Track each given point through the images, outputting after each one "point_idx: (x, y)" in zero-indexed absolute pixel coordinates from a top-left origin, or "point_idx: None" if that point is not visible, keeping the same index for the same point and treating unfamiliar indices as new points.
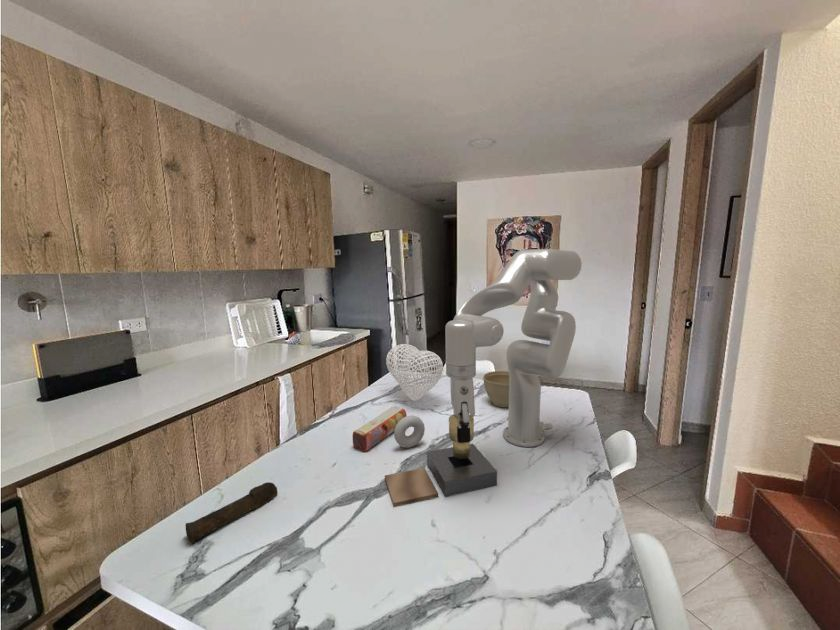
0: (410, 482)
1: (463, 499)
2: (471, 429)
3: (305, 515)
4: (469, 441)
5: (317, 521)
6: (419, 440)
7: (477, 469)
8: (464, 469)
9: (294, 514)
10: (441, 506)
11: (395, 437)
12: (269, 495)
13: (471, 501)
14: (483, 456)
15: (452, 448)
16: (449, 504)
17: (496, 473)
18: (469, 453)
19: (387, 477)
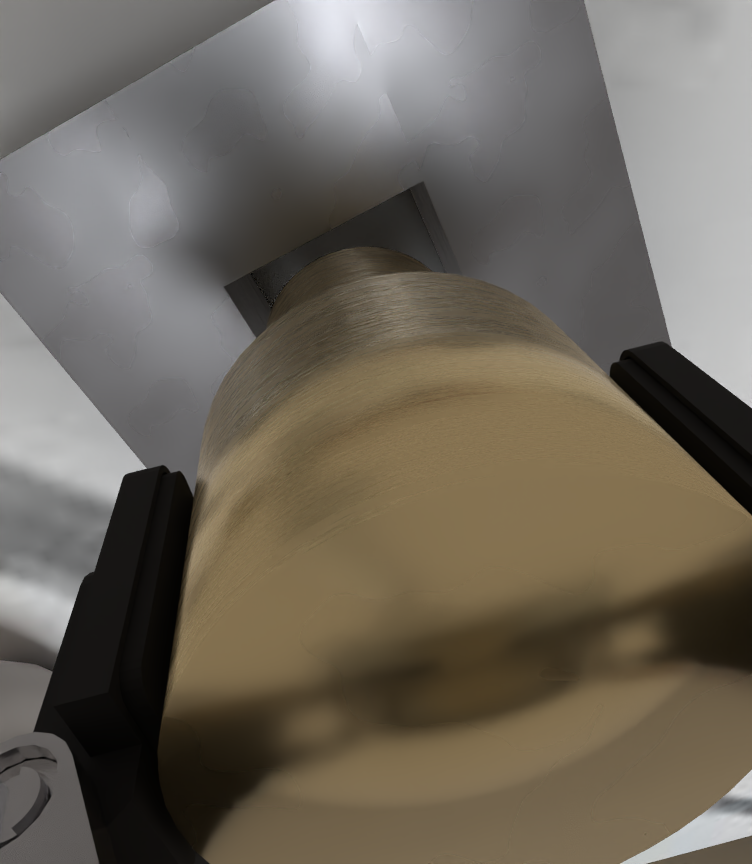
0: None
1: (658, 229)
2: (636, 405)
3: (694, 827)
4: (654, 347)
5: (731, 789)
6: (9, 675)
7: (514, 131)
8: (517, 274)
9: (684, 852)
10: (711, 370)
11: None
12: None
13: (686, 163)
14: (221, 45)
15: (143, 428)
16: (699, 323)
17: None
18: (396, 259)
19: None
